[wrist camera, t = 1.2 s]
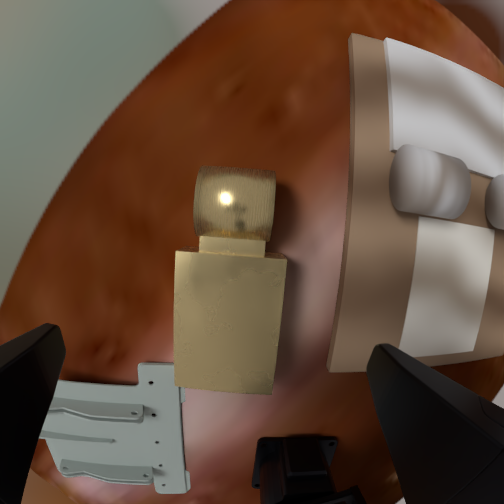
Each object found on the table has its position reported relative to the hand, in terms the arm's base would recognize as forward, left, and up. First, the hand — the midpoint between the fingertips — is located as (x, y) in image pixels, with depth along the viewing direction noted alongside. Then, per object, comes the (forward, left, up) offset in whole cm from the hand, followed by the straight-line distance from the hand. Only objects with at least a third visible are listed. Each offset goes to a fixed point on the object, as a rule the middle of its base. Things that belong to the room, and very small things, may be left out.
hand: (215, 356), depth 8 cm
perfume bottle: (0, 0, -12) cm, 12 cm away
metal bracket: (-14, +10, -12) cm, 21 cm away
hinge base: (+6, -16, -12) cm, 21 cm away
